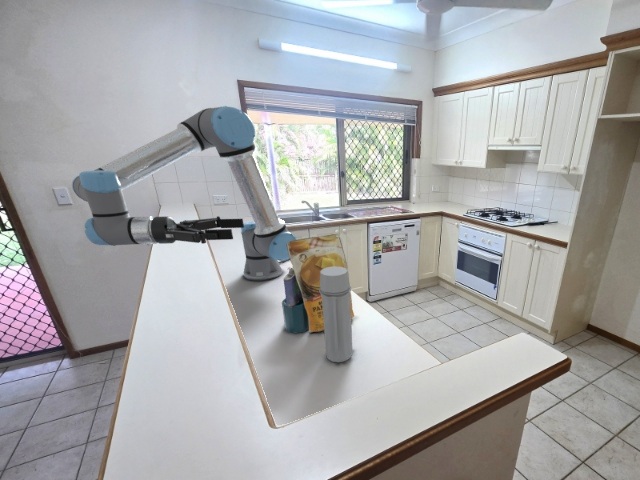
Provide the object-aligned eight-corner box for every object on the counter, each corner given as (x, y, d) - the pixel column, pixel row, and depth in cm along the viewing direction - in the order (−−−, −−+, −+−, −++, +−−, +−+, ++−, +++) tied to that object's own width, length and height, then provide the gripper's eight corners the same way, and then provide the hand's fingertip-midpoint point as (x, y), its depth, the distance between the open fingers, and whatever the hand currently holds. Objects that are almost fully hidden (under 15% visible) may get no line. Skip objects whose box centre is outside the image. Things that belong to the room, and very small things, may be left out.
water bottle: (326, 348, 93) (320, 265, 83) (354, 347, 93) (351, 265, 84) (322, 369, 84) (314, 279, 74) (353, 368, 85) (349, 279, 75)
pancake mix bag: (298, 331, 102) (281, 241, 95) (350, 313, 113) (338, 232, 106) (308, 336, 96) (290, 242, 90) (361, 317, 108) (349, 232, 101)
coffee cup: (286, 321, 106) (283, 296, 103) (311, 319, 108) (309, 294, 104) (284, 334, 99) (280, 307, 96) (310, 331, 101) (308, 305, 97)
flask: (293, 308, 96) (288, 273, 91) (283, 307, 96) (279, 273, 92) (305, 295, 104) (302, 263, 100) (297, 294, 104) (293, 262, 100)
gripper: (177, 232, 104) (248, 230, 109) (137, 257, 82) (229, 253, 86) (171, 208, 102) (245, 207, 106) (128, 227, 79) (223, 225, 83)
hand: (238, 228), depth 96 cm, fingers open, 13 cm apart
